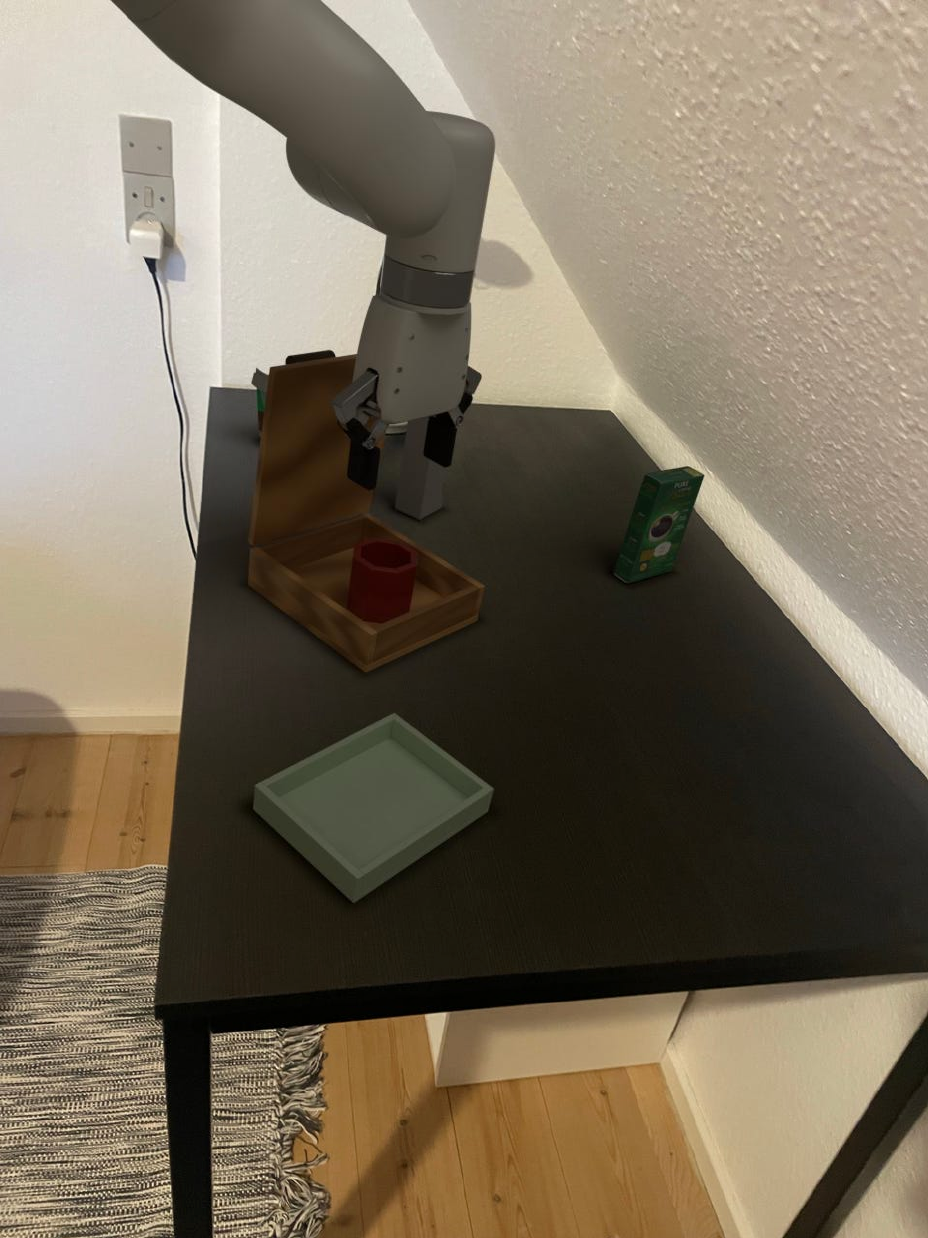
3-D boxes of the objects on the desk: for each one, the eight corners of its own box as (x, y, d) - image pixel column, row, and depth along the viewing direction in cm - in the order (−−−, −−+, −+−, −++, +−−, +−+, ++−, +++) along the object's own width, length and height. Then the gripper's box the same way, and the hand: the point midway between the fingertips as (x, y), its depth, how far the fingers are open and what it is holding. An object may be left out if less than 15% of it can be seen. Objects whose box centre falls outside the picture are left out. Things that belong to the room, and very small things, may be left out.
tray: (353, 904, 64) (357, 879, 63) (252, 809, 70) (254, 784, 69) (488, 811, 74) (494, 788, 73) (390, 735, 80) (394, 712, 78)
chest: (477, 621, 97) (485, 585, 95) (365, 673, 86) (371, 634, 84) (362, 546, 106) (366, 512, 103) (247, 585, 95) (249, 548, 93)
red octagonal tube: (376, 630, 91) (384, 577, 88) (334, 600, 94) (340, 548, 91) (421, 611, 95) (430, 560, 92) (379, 583, 98) (386, 532, 95)
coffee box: (656, 560, 115) (688, 462, 108) (673, 572, 114) (707, 473, 107) (610, 573, 111) (641, 471, 104) (628, 585, 109) (660, 482, 102)
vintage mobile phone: (441, 509, 117) (478, 306, 103) (419, 521, 113) (454, 312, 100) (417, 498, 118) (450, 296, 105) (394, 510, 114) (425, 302, 101)
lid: (403, 350, 92) (369, 329, 95) (275, 370, 82) (240, 346, 84) (369, 510, 103) (339, 488, 105) (252, 546, 92) (222, 520, 95)
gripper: (464, 263, 85) (435, 439, 95) (315, 276, 74) (300, 475, 83) (527, 288, 82) (491, 469, 91) (381, 306, 70) (357, 511, 79)
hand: (400, 472), depth 87 cm, fingers open, 9 cm apart
